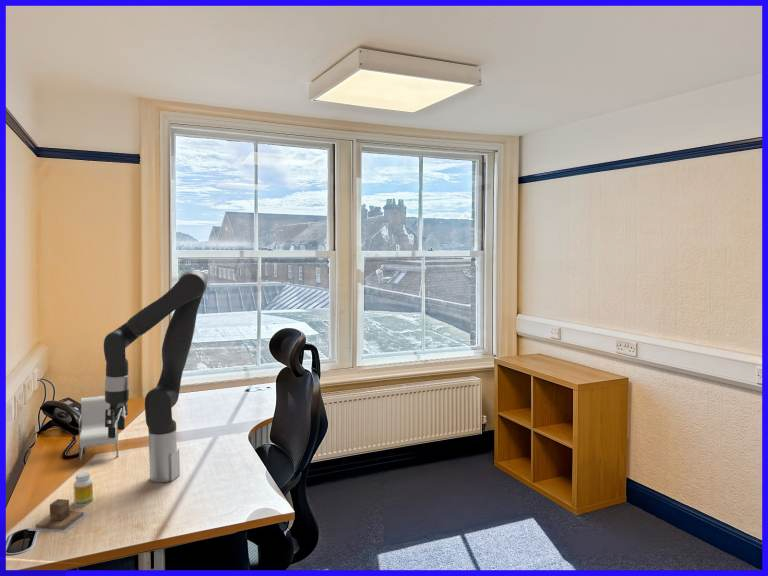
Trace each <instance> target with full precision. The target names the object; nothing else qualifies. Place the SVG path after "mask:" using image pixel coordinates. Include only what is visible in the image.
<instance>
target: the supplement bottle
mask: <svg viewBox="0 0 768 576" xmlns="http://www.w3.org/2000/svg"><path fill="white" fill-rule="evenodd" d="M90 477H91V474H90V472H89V471H82V472H78V473H77V474H76V475H75V481H74V482H73V502H74V503H73V504H74V505H75V506H80V507H81V506H86V505H90V504H91V503H93V501H94V492H93V479H92V478H90Z"/></svg>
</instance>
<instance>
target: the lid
mask: <svg viewBox="0 0 768 576" xmlns="http://www.w3.org/2000/svg"><path fill="white" fill-rule="evenodd" d="M83 513H84V511H72V510H71V511H70V499H61V498H60V499H59V498H58V499H55V500H54V501H53V502H51V503H50V504H49V516H48V515H47V516H46V517H44V518H42V519H41V520H42V521H41V520H40V521H38V522H39V523H38V522H37V523H35V525H36V528H45V529H61V530H65V529H66V528H67V527H69V526H70V525H71V524H73V523H74V522H75V521H77V520H78V519H79V518H80V517H82V516H83V515H84V514H83Z"/></svg>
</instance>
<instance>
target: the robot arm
mask: <svg viewBox="0 0 768 576" xmlns="http://www.w3.org/2000/svg"><path fill="white" fill-rule="evenodd" d="M207 286H208V282H207V279H206V277H205V275H204V274H203V273H202V272H201V271H199V270H189V271H186V272H185V273H184V274H182V275H181V276H180V277H179V279H178V280H177V282H176V283H175V284H174V285H173V286H171V288H170V289H169V290H168V291H167V292H165V294H163V295H162V296H161V297H159V298H158V299H156V300H155V301H153V302H152V303H150V304H149V305H147V306H145V307H143V308H142V309H140V311H138V312H137V313H135V314H134V315H133V316H131V317H130V318H129V319H128V320H127V321H126V322H125V323H124V324H122V325H121V326H119V327H118V328H116V329H114V330H113V331H112V332H109V333H108V334H106V336H105V338H104V339H103V353H104V354H103V355H104V359H105V363H106V364H105V381H104V396H105V402H106V403H109V404H110V408H109V410H107V409H106V411H105V427H108V438H115V436H116V432H117V429H116V423H117V421H118V431H124V430H125V424H126V418H127V416H128V414H129V412H128V411H129V409H128V408H129V407H128V406H129V405H128V403H129V402H128V401H129V399H130V397H129V396H130V395H129V394H130V379H129V359H127V358H126V348H127V347H129V346H130V345H131V344H132V343H133V342H135V341H136V340H137V339H138V338H140V337H141V336H143V335H144V334H147V332H148V331H150V330H151V329H153V328H154V327H155V326H157V325H158V324H159V323H161V321H163V320H164V319H165V318H166V317H168V316H169V315H170V314H172V316H171V318H170V321H169V323H168V326H167V328H166V331H165V334H164V339H163V341H162V345H161V346H162V348H161V361H162V362H161V364H162V367H161V368H162V370H161V373H160V376H159V379H158V381H157V384H156V386H155V387H154V388H152V389H151V390H149V391H148V392H147V393H146V396H145V398H144V399H145V400H144V414H145V424H146V426H147V428H148V456H149V457H148V458H149V461H148V462H149V480H150V481H151V482H153V483H166V482H173V481H174V480H175V479H177V478H178V476H180V474H181V469H180V468H181V466H180V464H181V463H180V449H179V448H178V445H177V443H178V442H177V440H178V439H177V421H176V420H174V419H173V414H172V413H173V412H172V409H173V407H174V406H175V405H176V404H177V402H178V400H179V395H180V390H181V383H182V377H183V372H184V369H185V366H186V364H187V359H188V357H189V353H190V350H191V347H192V342H193V340H194V339H193V337H194V334H195V329H196V321H197V315H198V310H199V307H200V304H201V302H202V299H203V296H204V293H205V292H206V290H207ZM110 423H111V424H110Z"/></svg>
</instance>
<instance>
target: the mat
mask: <svg viewBox="0 0 768 576" xmlns="http://www.w3.org/2000/svg"><path fill="white" fill-rule="evenodd" d="M83 514H84V515H83V516H82V517H80V518H79V519H78V520H77V521H75V522H74V523H73V524H71V525H70V526H69V527H67V528H66V529H65V530H61V529H45V528H36V524H34V525H32V526H31V527H30V528H28V529H27V531H30V532H31V531H32V532H33V531H34V532H45V533H46V532H49V533H51V532H52V533H61V534H62V533H65V534H66V533H68V532H69V531H70V530H72V529H73V528H74V527H75V526H77V525H78V524H79V523H81V522H82V521H84V520H85V519H86V518H87V517H89V516H90V515H91V514H92V512H83ZM49 515H50V514H49ZM49 515H47V516H49ZM42 520H43V519H41V520H40V521H42ZM40 521H38V522H37V523H39V522H40Z"/></svg>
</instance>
